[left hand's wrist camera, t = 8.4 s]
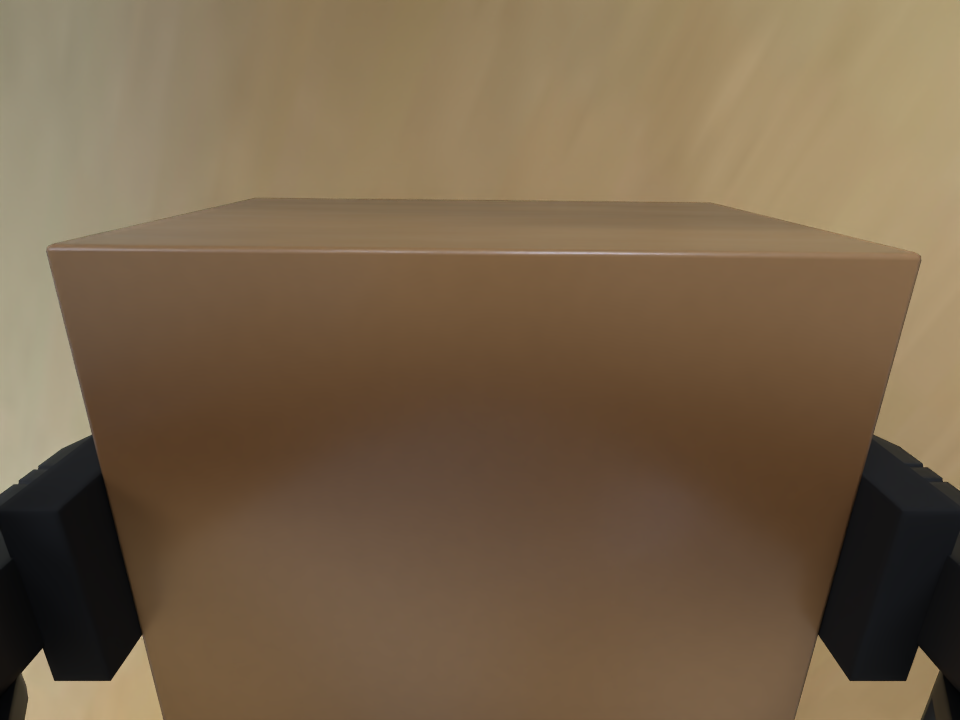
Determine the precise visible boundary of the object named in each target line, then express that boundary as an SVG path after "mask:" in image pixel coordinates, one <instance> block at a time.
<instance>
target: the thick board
mask: <svg viewBox="0 0 960 720" xmlns="http://www.w3.org/2000/svg"><path fill="white" fill-rule="evenodd" d="M46 252H47V256H48V260H49V264H50V268H51V272H52V276H53V280H54V284H55V288H56V292H57V296H58V300H59V304H60V308H61V312H62V316H63V320H64V324H65V328H66V332H67V336H68V340H69V344H70V348H71V352H72V356H73V360H74V364H75V368H76V372H77V376H78V380H79V384H80V388H81V392H82V396H83V400H84V404H85V408H86V412H87V416H88V420H89V424H90V428H91V432H92V436H93V440H94V444H95V448H96V452H97V456H98V460H99V464H100V468H101V472H102V476H103V480H104V484H105V488H106V492H107V496H108V500H109V504H110V508H111V512H112V516H113V520H114V524H115V528H116V532H117V536H118V540H119V544H120V548H121V552H122V556H123V560H124V564H125V568H126V572H127V576H128V580H129V584H130V588H131V592H132V596H133V600H134V603H135V607H136V611H137V615H138V619H139V623H140V627H141V631H142V635H143V639H144V643H145V647H146V651H147V655H148V659H149V663H150V667H151V671H152V675H153V679H154V683H155V687H156V691H157V695H158V699H159V703H160V707H161V711H162V715H163V719H164V720H794V719H795V716H796V712H797V708H798V705H799V701H800V698H801V694H802V690H803V687H804V683H805V679H806V676H807V672H808V669H809V665H810V661H811V658H812V654H813V651H814V647H815V643H816V640H817V636H818V632H819V629H820V625H821V622H822V618H823V614H824V611H825V607H826V603H827V600H828V596H829V593H830V589H831V585H832V582H833V578H834V574H835V571H836V567H837V564H838V560H839V556H840V553H841V549H842V545H843V542H844V538H845V535H846V531H847V527H848V524H849V520H850V517H851V513H852V509H853V506H854V502H855V498H856V495H857V491H858V488H859V484H860V480H861V477H862V473H863V469H864V466H865V462H866V459H867V455H868V451H869V448H870V444H871V440H872V437H873V433H874V430H875V426H876V422H877V419H878V415H879V412H880V408H881V404H882V401H883V397H884V393H885V390H886V386H887V383H888V379H889V375H890V372H891V368H892V364H893V361H894V357H895V354H896V350H897V346H898V343H899V339H900V335H901V332H902V328H903V325H904V321H905V317H906V314H907V310H908V306H909V303H910V299H911V296H912V292H913V288H914V285H915V281H916V278H917V274H918V270H919V267H920V263H921V256H920V255H919V254H917V253H915V252H911V251H907V250H902V249H898V248H894V247H890V246H886V245H882V244H878V243H874V242H870V241H866V240H861V239H857V238H853V237H849V236H845V235H841V234H837V233H833V232H829V231H825V230H820V229H816V228H812V227H808V226H804V225H800V224H796V223H792V222H788V221H784V220H779V219H775V218H771V217H767V216H763V215H759V214H755V213H751V212H747V211H743V210H738V209H734V208H730V207H726V206H722V205H718V204H714V203H701V202H605V201H509V200H413V199H317V198H252V199H248V200H244V201H239V202H235V203H230V204H226V205H222V206H217V207H213V208H208V209H204V210H199V211H195V212H191V213H186V214H182V215H177V216H173V217H169V218H164V219H160V220H155V221H151V222H147V223H142V224H138V225H133V226H129V227H124V228H120V229H116V230H111V231H107V232H102V233H98V234H94V235H89V236H85V237H80V238H76V239H71V240H67V241H63V242H58V243H54V244H51V245H49V246H48V247H47V251H46Z"/></svg>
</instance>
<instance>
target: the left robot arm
mask: <svg viewBox="0 0 960 720" xmlns="http://www.w3.org/2000/svg"><path fill="white" fill-rule="evenodd" d="M38 467H39V468H38V470H32V471H31V472H30V473H28V474H27V475H26V476H24V477H23V478H22V479H20V480H19V484H14V485H12V486H11V487H9V488H8V489H7V490H5V491H4V492H3V493H1V494H0V720H25V714H26V708H27V703H28V694H27V687H26V684H25V681H24V679H23V676H22V674H21V673H22V671H23V670H24V669H25V668H26V667H27V666H28V664H29V663H30V662H31V661H32V660H33V659H34V657H35V656H36V655H37V654H38V653H39V652H40V650H41V649H42V648H43V650H44V653H45V656H46V658H47V661H48V664H49V667H50V670H51V672H52V675H53V678H54V681H111V680H112V678H113V677H114V675H115V674H116V672H117V671H118V669H119V668H120V666H121V665H122V663H123V662H124V661H125V659H126V658H127V656H128V655H129V653H130V652H131V650H132V649H133V647H134V646H135V644H136V643H137V641H138V640H139V639H140V637H141V636H142V631H141V627H140V623H139V619H138V615H137V611H136V607H135V603H134V600H133V596H132V592H131V588H130V584H129V580H128V576H127V572H126V568H125V564H124V560H123V556H122V552H121V548H120V544H119V540H118V536H117V532H116V528H115V524H114V520H113V516H112V512H111V508H110V504H109V500H108V496H107V492H106V488H105V484H104V480H103V476H102V472H101V468H100V464H99V460H98V456H97V452H96V448H95V444H94V440H93V436H92V435H90V436H88V437H86V438H84V439H82V440H80V441H77V442H75V443H73V444H71V445H69V446H67V447H65V448H62V449H61V450H59V451H58V452H57V453H55V454H54V455H53V456H51V457H50V458H49V459H47V460H46V461H45V462H43V463H42V464H41V465H39V466H38ZM942 479H943V478H941V477H940V476H939V475H937V474H936V473H935V472H933V471H932V470H931V469H929V468H928V467H923V464H922V463H921V462H920V461H918V460H917V459H916V458H914V457H913V456H911V455H910V454H909V453H907V452H906V451H905V450H903V449H902V448H901V447H899V446H897V445H895V444H892V443H890V442H888V441H886V440H884V439H882V438H879V437H877V436H875V435H873V437H872V440H871V444H870V448H869V451H868V455H867V459H866V462H865V466H864V469H863V473H862V477H861V480H860V484H859V488H858V491H857V495H856V498H855V502H854V506H853V509H852V513H851V517H850V520H849V524H848V527H847V531H846V535H845V538H844V542H843V545H842V549H841V553H840V556H839V560H838V564H837V567H836V571H835V574H834V578H833V582H832V585H831V589H830V593H829V596H828V600H827V603H826V607H825V611H824V614H823V618H822V622H821V625H820V629H819V632H818V635H819V636H820V638H821V639H822V641H823V642H824V644H825V645H826V647H827V648H828V650H829V651H830V652H831V654H832V655H833V657H834V658H835V660H836V661H837V663H838V664H839V666H840V667H841V669H842V670H843V672H844V673H845V674H846V676H847V677H848V679H849V680H850V681H906V680H907V677H908V674H909V671H910V668H911V666H912V663H913V660H914V657H915V655H916V652H917V649H918V646H919V647H920V648H921V649H922V650H923V651H924V652H925V653H926V655H927V656H928V657H929V658H930V659H931V660H932V662H933V663H934V664H935V665H936V666H937V667H938V669H939V670H940V671H939V674H938V676H937V679H936V681H935V684H934V687H933V689H932V692H931V694H930V697H929V700H928V702H927V705H926V707H925V710H924V713H923V715H922V718H921V720H960V491H959V490H958V489H956V488H955V487H954V486H952V485H951V484H950V483H948V482H943V480H942Z"/></svg>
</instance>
